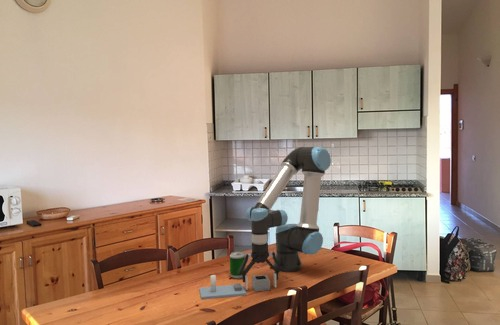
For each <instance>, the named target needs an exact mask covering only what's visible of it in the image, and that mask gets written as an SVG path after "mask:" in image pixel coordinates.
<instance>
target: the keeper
mask: <svg viewBox="0 0 500 325" xmlns="http://www.w3.org/2000/svg"><path fill="white" fill-rule="evenodd" d="M199 294H200V299H201V300H209V299H218V298H219V299H220V298H233V297H241V296H242V297H243V296H247V290H246V289H245V286H244V285H243V284H242V283H233V284H229V285H227V284H226V285H217V275H216V274H211V275H210V286H204V287H199Z"/></svg>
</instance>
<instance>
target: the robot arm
mask: <svg viewBox="0 0 500 325" xmlns="http://www.w3.org/2000/svg"><path fill="white" fill-rule="evenodd" d="M331 160H332V158H331V154H330V152H329V151H328V150H327V148H324V147H320V146H299V147H296V148H295V149H293V150H292V151H290V152H289V153H288V155H287V156H285V158H284V159H283V160H282V162H281V163H280V168H279V169H278V171H277V173H276V174H275V175H274V177H273V178H272V179H271V182H270V183H269V184H268V186H267V188H266V189H265V190H264V192H263V193H262V195H261V196H260V197H259V199H258V200H257V202H256V204H255V205H254V206H250V207H248V208H247V209H246V212H245V216H246V218H245V219H247V221H248V222H251V223H250V224H251V226H250V227H251V228H250V229H251V242H252V243H251V252H250V253H247V252H246V253H244V255H245V258H244V260H243V263H242V265H241V267H240V269H239V271H238V273H239V274H240V275H242V278H241V279H242V282H243V283H244V289H245V291H248V275H247V274H248V273H249V271H250V270H251V269H252V268H253V266H254V265H255V264H256V263H257V264H260V263H262V264H264V263H265V262H266V264H267V265H268V266H269V267H270V268H271V269H272V270H273V273H272V274H273V276H272V277H273V278H272V280H273V287H274V288H277V281H278V280H279V274H280V272H285V273H287V272H289V273H290V272H298V271H299V270H301V269H302V268H303V266H302V265H303V263H302V261H301V258H300V254H299V253H303V254H305V255H315V254H317V253H318V252H319V251H320V250H321V249H322V246H323V243H324V237H323V234H322V233H321V232H320V227H319V225H318V224H317V223H318V213H319V203H320V193H321V185H322V183H321V182H322V177H324V176H325V174H326V171H327V170H329V168H330V167H331V163H332V161H331ZM300 170H301V173H302V174H303V177H304V178H303V184H302V185H303V187H302V188H303V189H302V197H301V206H300V207H301V208H300V216H299V222H298V223H287V222H288V213H287V212H286V211H285V210H283V209H277V210H273V209H272V208H273V206H274V205H275V203H276V202H277V200H278V198H279V197H280V196H281V194H282V193H283V191H284V190H285V188H286V186H287V185H288V184H289V182H290V181H291V179H292V177H293V176H295V175H297V173H299V171H300ZM270 228H275V252H274V250H271V252H269V243H268V241H269V235H268V234H269V229H270ZM269 257H271V258H272V260H273V263H271V261H270V260H269V259H268V258H269ZM250 258H252V259H251V260H250V262H248V261H249V259H250ZM244 268H245V270H244ZM243 270H244V271H243Z"/></svg>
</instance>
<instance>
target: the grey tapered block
mask: <svg viewBox="0 0 500 325" xmlns="http://www.w3.org/2000/svg"><path fill="white" fill-rule="evenodd" d="M251 286H252V289H253V290H254V292H266V291H271V279H270V277H269V276H268V275H267V274H260V275H259V274H257V275H251Z"/></svg>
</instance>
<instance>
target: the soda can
mask: <svg viewBox="0 0 500 325" xmlns="http://www.w3.org/2000/svg"><path fill="white" fill-rule="evenodd" d="M229 254H230V255H229V270H230V271H229V273H230V274H229V275H230V277H231V278H232V279H237V280H238V279H242V275H240V274H239V273H238V271H239V269H240V267H241V265H242V263H243V260H244V258H245V253H244V252H242V251H233V252H231V253H229ZM245 268H246V267H245ZM245 268H244V270H245ZM244 270H243V271H244Z"/></svg>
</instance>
